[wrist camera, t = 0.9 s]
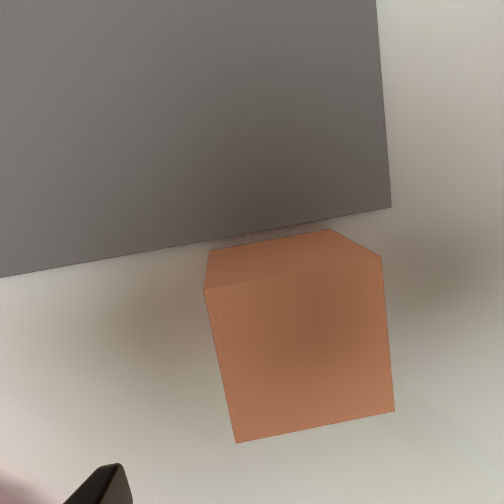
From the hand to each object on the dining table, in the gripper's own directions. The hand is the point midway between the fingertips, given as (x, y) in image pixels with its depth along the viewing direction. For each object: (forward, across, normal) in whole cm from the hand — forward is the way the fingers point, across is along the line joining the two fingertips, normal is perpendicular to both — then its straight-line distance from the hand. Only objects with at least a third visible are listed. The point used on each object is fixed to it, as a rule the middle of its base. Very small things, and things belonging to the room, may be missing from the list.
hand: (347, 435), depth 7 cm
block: (+8, 0, 0) cm, 8 cm away
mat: (+8, +3, -9) cm, 12 cm away
